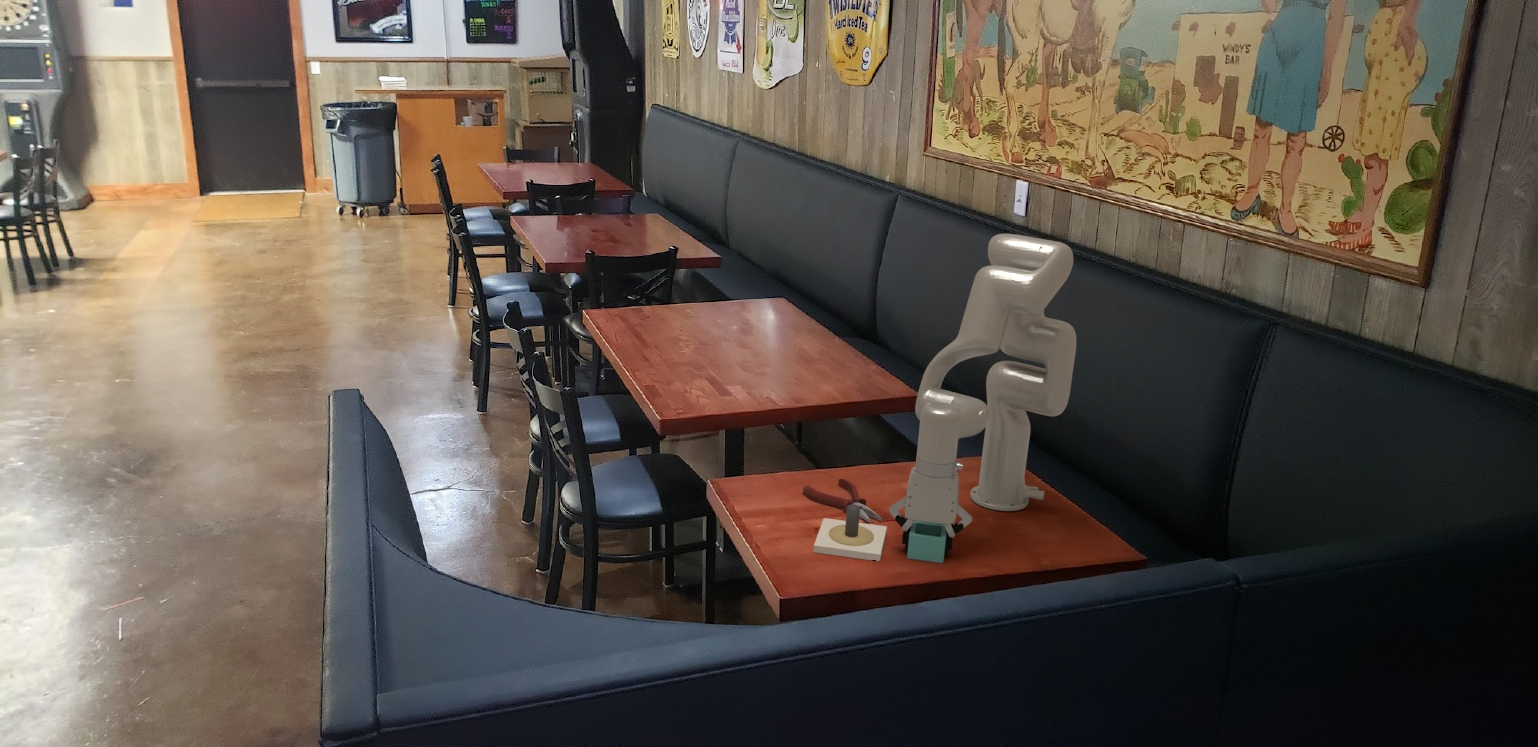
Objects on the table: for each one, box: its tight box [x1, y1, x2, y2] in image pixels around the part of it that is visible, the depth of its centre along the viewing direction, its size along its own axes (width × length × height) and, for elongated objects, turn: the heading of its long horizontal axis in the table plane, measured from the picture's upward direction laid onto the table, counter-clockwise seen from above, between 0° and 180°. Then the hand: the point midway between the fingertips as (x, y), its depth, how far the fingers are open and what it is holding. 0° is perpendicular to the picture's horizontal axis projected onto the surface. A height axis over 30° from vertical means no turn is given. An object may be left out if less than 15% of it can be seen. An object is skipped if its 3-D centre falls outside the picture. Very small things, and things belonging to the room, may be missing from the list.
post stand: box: [812, 504, 888, 562], centre depth 225 cm, size 13×13×8 cm
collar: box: [906, 521, 947, 564], centre depth 223 cm, size 7×7×5 cm
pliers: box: [802, 478, 883, 524], centre depth 243 cm, size 12×20×3 cm, turn 32°
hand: (926, 549), depth 223 cm, fingers closed on collar, 7 cm apart
